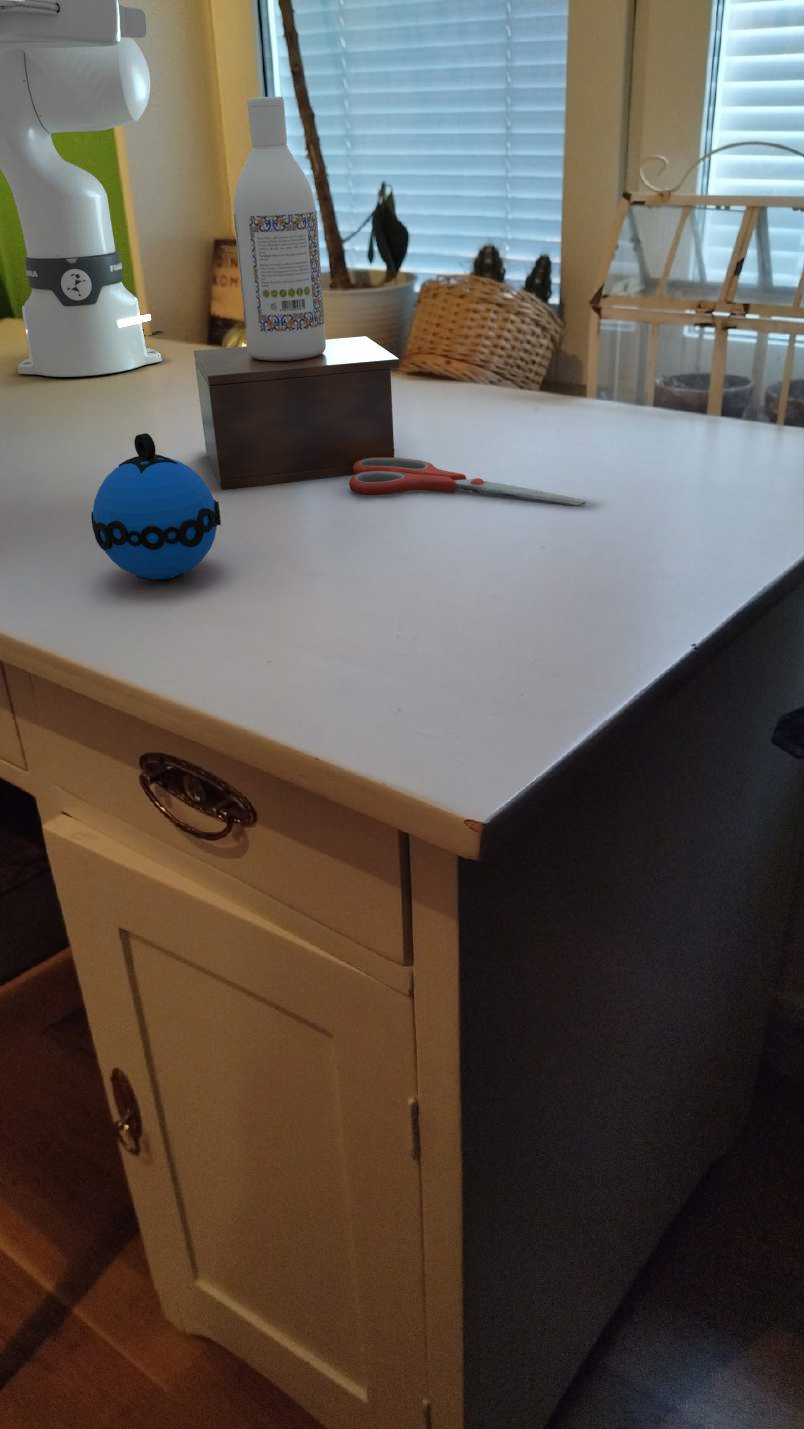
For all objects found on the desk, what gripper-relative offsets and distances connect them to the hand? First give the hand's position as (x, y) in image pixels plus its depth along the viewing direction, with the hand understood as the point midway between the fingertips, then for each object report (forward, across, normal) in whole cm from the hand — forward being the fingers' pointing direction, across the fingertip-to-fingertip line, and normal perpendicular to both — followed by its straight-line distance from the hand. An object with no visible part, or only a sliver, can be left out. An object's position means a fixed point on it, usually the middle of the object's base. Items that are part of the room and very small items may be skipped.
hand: (105, 26), depth 83 cm
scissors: (+16, -25, +33) cm, 44 cm away
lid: (+13, -7, +25) cm, 29 cm away
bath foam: (+12, -7, +24) cm, 28 cm away
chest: (+13, -7, +34) cm, 37 cm away
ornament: (-12, -23, +35) cm, 43 cm away
